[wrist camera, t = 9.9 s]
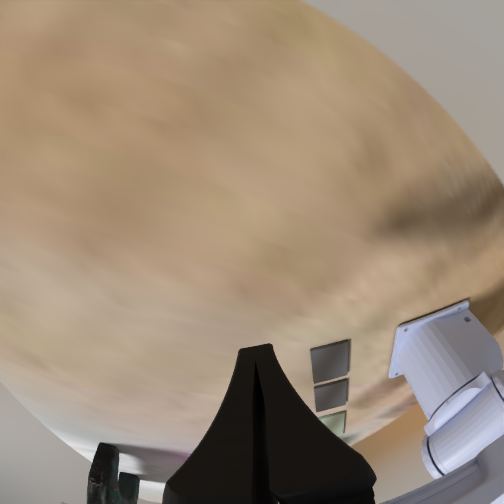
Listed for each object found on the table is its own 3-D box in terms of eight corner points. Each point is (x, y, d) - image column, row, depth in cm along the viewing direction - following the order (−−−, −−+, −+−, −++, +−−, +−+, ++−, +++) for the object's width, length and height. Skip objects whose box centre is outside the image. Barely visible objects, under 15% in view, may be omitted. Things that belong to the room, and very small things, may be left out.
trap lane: (347, 339, 24) (354, 354, 22) (339, 455, 37) (342, 464, 35) (131, 376, 25) (126, 391, 23) (216, 475, 38) (216, 484, 36)
